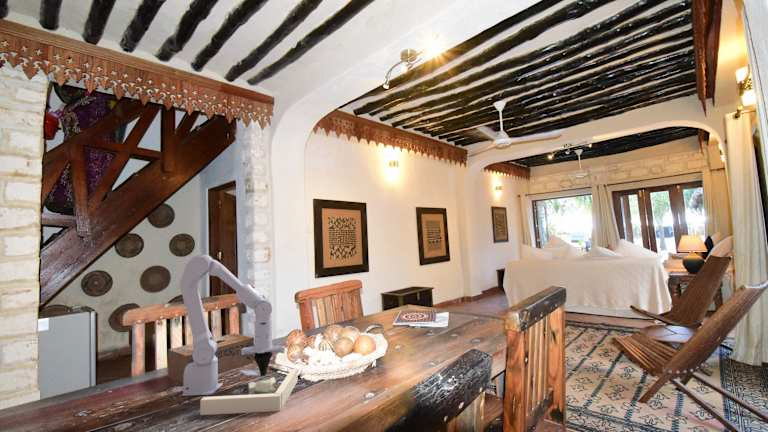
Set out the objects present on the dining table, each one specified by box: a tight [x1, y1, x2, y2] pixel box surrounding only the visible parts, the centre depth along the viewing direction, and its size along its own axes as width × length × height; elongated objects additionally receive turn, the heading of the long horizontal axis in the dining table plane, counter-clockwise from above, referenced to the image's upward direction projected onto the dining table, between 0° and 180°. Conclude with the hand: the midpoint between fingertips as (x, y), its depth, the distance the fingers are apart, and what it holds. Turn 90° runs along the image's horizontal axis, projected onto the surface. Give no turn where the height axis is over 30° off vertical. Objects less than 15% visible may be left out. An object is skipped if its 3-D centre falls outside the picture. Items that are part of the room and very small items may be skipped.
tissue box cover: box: [167, 332, 255, 385], centre depth 132 cm, size 26×14×10 cm, turn 144°
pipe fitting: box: [247, 376, 277, 395], centre depth 107 cm, size 8×4×7 cm
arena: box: [199, 368, 299, 416], centre depth 106 cm, size 22×21×4 cm
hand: (263, 374), depth 118 cm, fingers closed
